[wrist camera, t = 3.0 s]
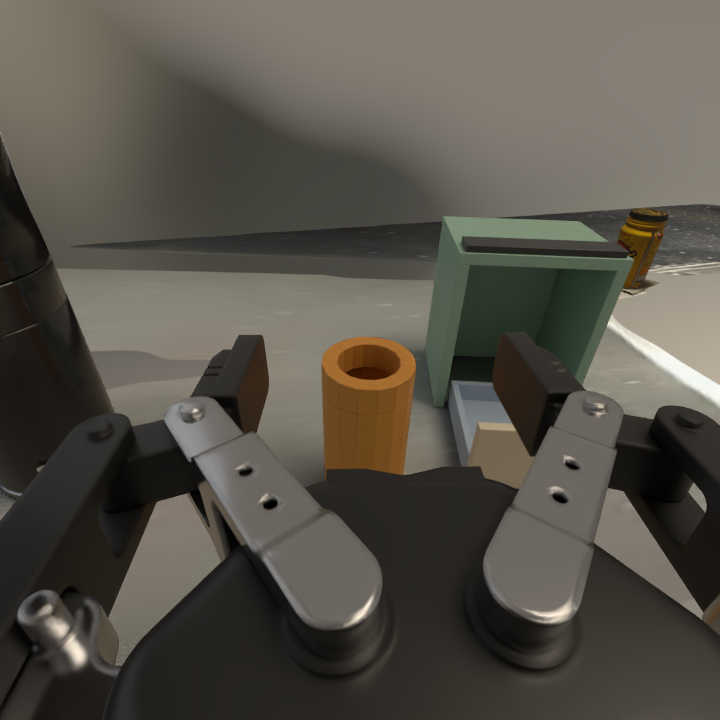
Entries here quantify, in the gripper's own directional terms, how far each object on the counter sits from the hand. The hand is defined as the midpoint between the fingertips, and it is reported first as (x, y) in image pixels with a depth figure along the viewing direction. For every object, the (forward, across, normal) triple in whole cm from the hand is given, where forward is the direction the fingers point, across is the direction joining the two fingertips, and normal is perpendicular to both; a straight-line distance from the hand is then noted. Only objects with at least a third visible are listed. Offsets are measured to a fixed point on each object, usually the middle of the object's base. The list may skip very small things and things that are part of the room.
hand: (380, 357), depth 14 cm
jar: (+11, 0, +19) cm, 23 cm away
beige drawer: (+17, -14, +19) cm, 29 cm away
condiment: (+55, -47, +18) cm, 75 cm away
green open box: (+27, -15, +19) cm, 36 cm away
